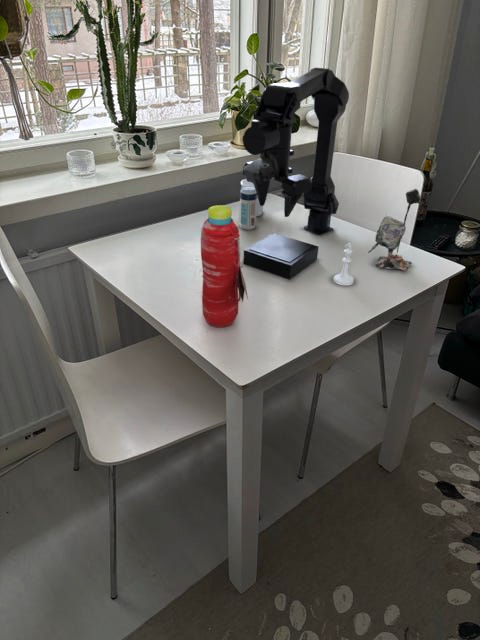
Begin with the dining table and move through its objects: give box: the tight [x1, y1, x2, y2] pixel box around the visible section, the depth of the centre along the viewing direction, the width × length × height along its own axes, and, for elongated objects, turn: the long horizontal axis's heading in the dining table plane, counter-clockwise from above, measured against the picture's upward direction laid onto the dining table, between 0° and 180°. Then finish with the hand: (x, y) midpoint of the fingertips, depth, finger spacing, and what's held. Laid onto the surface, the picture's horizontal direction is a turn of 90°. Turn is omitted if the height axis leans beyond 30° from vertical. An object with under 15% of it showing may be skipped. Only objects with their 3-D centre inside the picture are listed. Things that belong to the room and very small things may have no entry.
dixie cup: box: [240, 178, 264, 217], centre depth 154 cm, size 8×8×10 cm
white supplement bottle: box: [239, 186, 257, 231], centre depth 143 cm, size 5×5×12 cm
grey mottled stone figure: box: [367, 188, 422, 272], centre depth 122 cm, size 8×11×20 cm
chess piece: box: [333, 242, 355, 286], centre depth 117 cm, size 5×5×10 cm
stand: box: [242, 232, 319, 281], centre depth 126 cm, size 14×14×4 cm
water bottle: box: [200, 204, 249, 328], centre depth 96 cm, size 12×8×25 cm, turn 51°
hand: (274, 210), depth 120 cm, fingers open, 9 cm apart
